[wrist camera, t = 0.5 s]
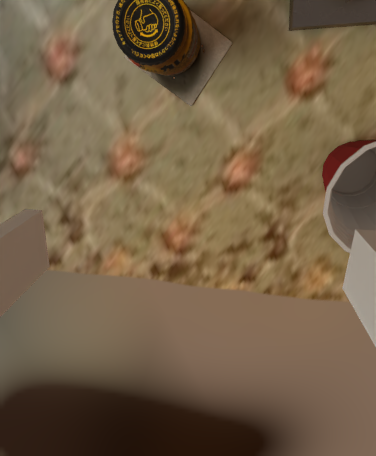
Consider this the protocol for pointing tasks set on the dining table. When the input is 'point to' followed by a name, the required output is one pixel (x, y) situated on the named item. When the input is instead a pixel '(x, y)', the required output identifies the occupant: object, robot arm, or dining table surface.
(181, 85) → the condiment
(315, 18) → the levelling plate
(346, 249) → the plastic cup
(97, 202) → the dining table surface
